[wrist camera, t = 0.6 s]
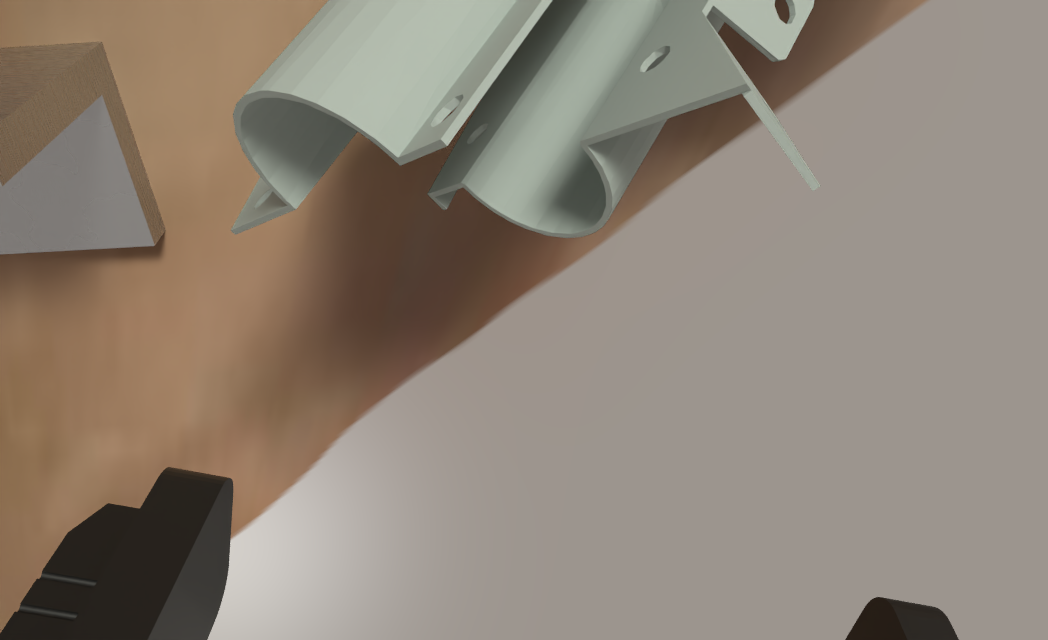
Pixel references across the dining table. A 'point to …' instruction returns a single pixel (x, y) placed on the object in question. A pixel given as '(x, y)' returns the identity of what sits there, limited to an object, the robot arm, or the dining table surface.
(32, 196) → the angle bracket
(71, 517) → the dining table surface
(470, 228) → the dining table surface
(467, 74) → the bracket
